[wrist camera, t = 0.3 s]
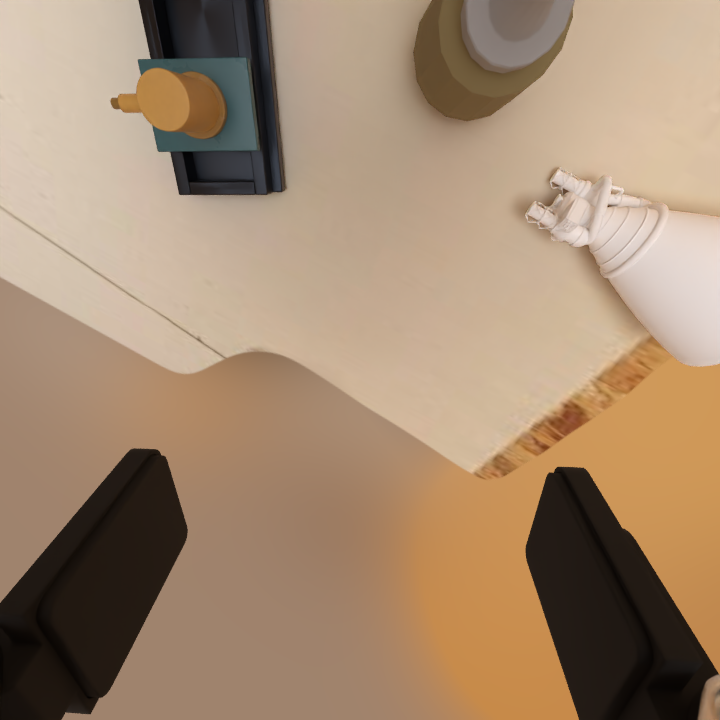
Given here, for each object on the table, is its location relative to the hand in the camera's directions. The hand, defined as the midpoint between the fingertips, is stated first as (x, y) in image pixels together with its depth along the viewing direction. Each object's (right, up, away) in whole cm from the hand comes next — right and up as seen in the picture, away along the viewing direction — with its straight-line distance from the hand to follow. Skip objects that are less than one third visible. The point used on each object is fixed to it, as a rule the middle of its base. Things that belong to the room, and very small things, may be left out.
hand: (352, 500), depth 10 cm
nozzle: (-11, +23, +21) cm, 33 cm away
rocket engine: (+24, +15, +25) cm, 38 cm away
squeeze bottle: (+8, +26, +20) cm, 34 cm away
